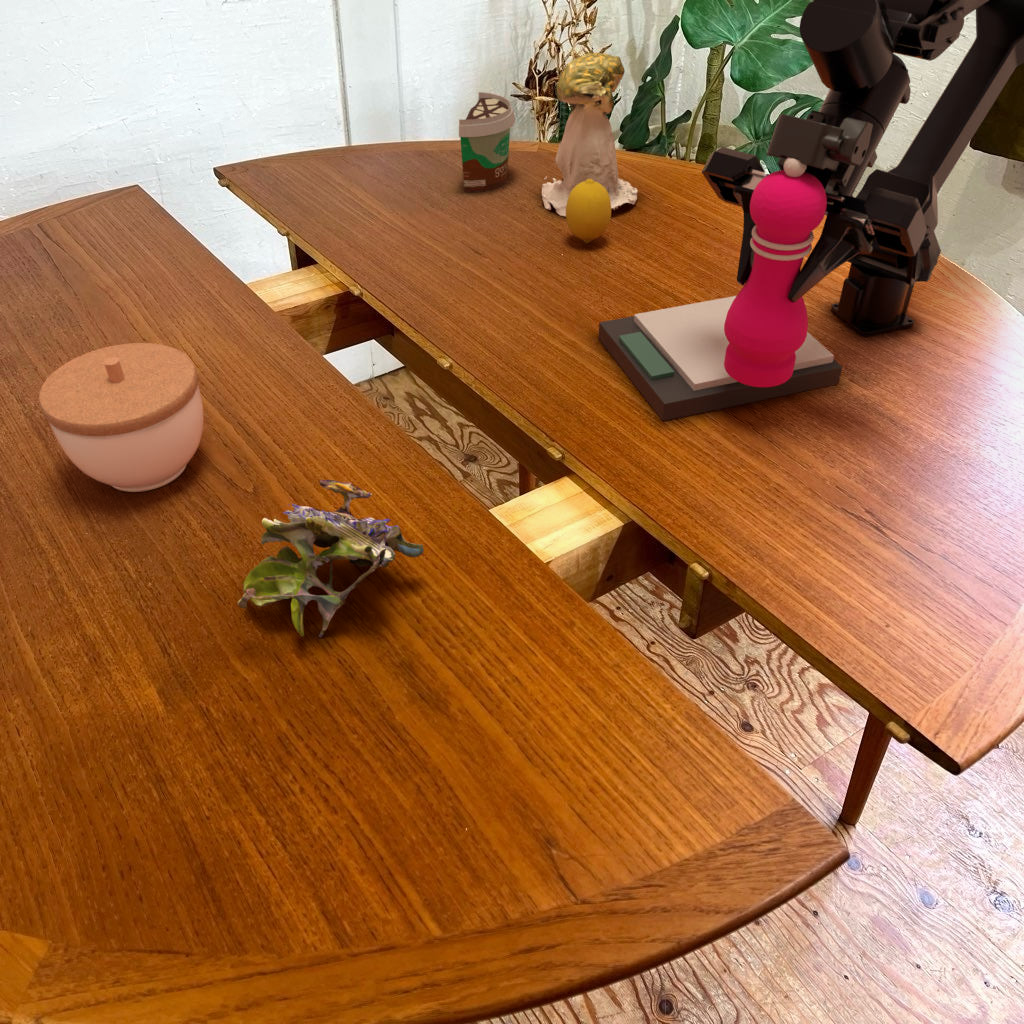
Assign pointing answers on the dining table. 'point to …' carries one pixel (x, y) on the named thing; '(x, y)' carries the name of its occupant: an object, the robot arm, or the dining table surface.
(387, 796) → the dining table surface
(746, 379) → the pepper mill
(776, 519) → the dining table surface
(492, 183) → the food container
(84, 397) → the lidded bowl
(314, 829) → the dining table surface
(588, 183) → the lemon
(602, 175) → the mushroom
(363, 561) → the passion flower
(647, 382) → the scale
